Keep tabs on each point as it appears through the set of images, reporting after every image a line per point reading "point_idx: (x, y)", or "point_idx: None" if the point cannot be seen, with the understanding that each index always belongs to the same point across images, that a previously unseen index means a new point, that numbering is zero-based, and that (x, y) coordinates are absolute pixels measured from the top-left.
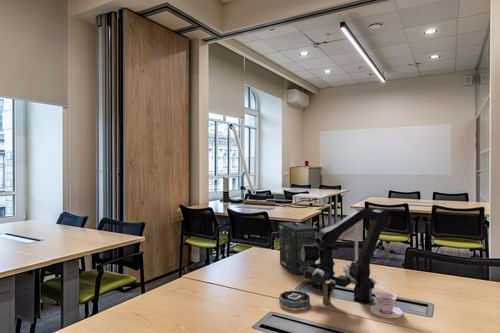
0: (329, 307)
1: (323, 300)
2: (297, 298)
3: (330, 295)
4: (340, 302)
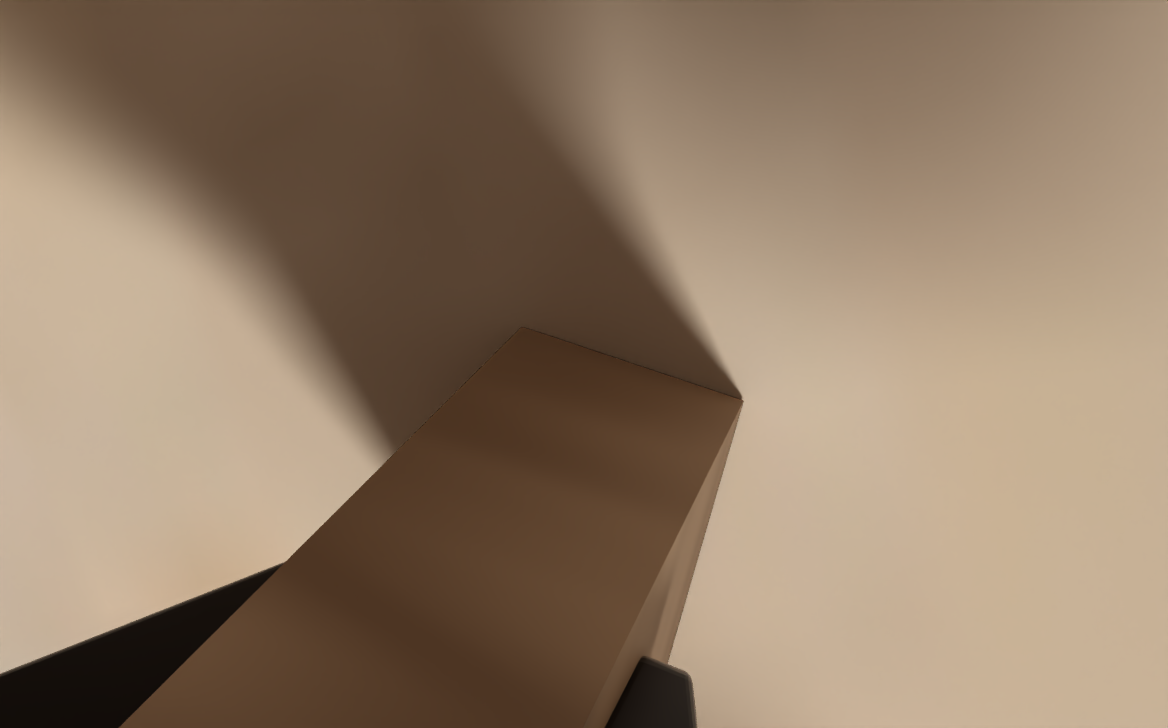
0: (334, 37)
1: (664, 462)
2: None
3: None
4: None
